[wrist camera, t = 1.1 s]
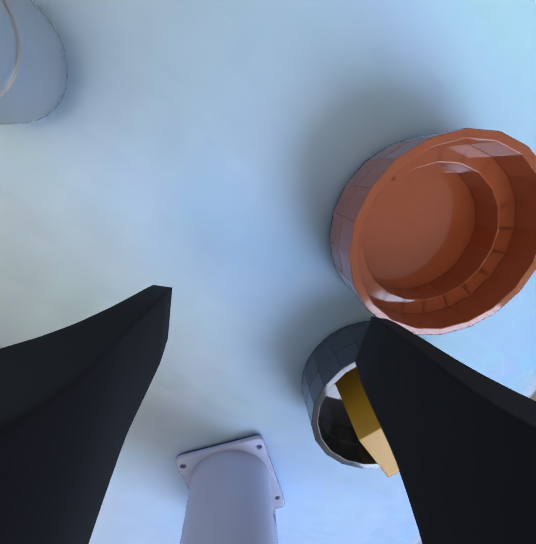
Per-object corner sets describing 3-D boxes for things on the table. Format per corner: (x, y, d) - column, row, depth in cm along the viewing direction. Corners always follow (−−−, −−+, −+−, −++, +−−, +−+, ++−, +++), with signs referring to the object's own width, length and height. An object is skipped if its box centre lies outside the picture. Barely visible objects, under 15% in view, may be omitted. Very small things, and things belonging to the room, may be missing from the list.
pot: (430, 409, 27) (460, 448, 23) (314, 439, 27) (326, 482, 23) (422, 305, 23) (457, 331, 20) (289, 340, 23) (297, 373, 20)
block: (400, 385, 25) (446, 447, 20) (356, 410, 26) (388, 477, 20) (378, 350, 24) (420, 406, 18) (332, 377, 24) (358, 440, 19)
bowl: (490, 282, 23) (545, 307, 19) (342, 320, 23) (364, 354, 19) (492, 116, 19) (563, 101, 15) (313, 164, 19) (333, 163, 15)
